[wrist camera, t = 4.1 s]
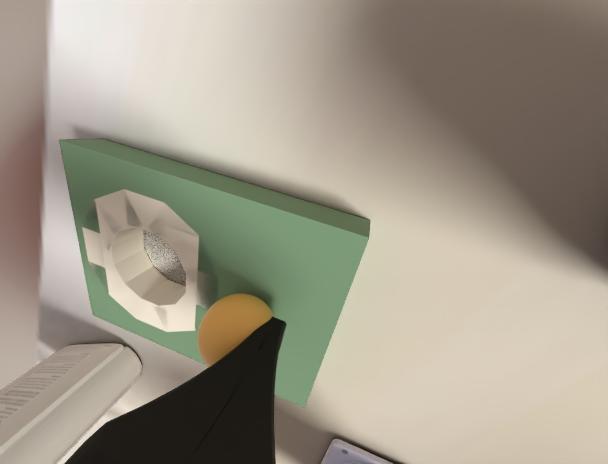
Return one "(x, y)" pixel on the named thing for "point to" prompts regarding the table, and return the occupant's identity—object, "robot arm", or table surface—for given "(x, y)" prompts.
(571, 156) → the table surface
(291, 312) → the mat
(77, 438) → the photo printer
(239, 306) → the ball
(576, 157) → the table surface
